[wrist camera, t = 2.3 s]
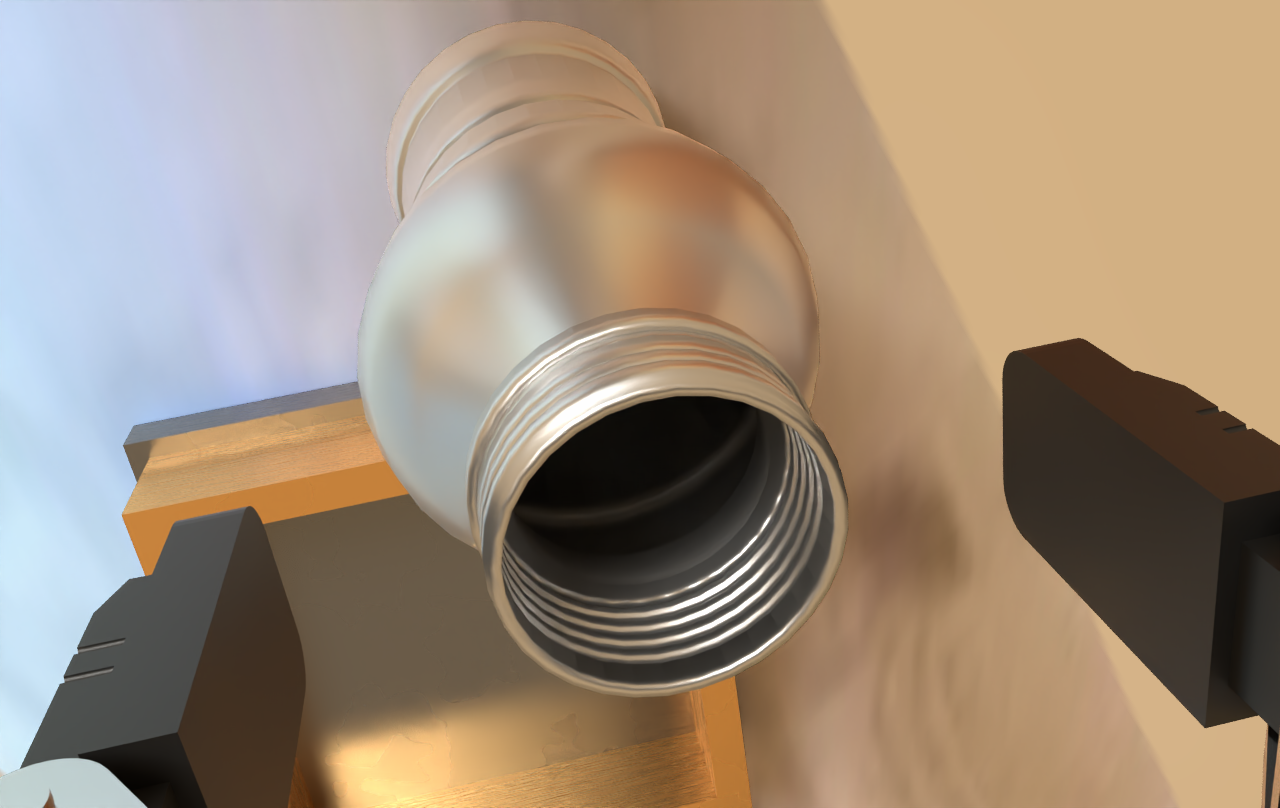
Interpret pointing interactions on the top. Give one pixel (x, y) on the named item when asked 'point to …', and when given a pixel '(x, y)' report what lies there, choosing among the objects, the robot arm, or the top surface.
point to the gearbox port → (415, 633)
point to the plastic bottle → (600, 367)
